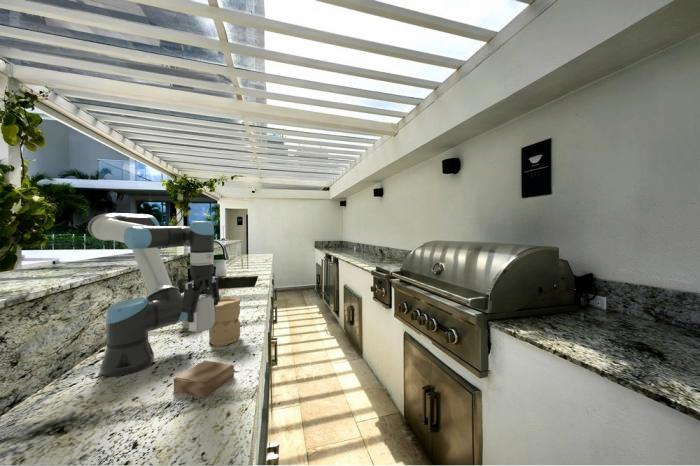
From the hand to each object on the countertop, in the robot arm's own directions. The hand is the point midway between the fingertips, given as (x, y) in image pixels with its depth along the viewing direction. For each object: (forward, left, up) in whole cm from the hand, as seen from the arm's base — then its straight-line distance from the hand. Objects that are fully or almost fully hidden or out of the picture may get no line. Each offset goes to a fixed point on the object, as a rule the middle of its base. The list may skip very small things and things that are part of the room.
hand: (202, 326), depth 99 cm
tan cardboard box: (+10, -10, -14) cm, 20 cm away
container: (-8, +20, -14) cm, 26 cm away
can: (0, 0, -1) cm, 1 cm away
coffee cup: (-39, +31, -14) cm, 52 cm away
